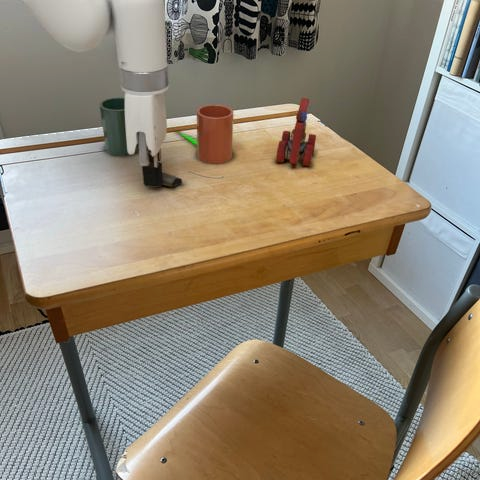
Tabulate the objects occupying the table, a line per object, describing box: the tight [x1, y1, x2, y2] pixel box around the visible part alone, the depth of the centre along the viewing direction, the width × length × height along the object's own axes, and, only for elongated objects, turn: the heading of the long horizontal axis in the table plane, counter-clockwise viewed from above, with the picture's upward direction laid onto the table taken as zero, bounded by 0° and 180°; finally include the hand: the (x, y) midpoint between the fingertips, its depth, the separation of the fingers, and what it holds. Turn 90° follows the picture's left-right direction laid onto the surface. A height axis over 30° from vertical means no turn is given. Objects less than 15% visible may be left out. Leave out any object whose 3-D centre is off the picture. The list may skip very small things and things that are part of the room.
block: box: [162, 171, 183, 188], centre depth 95 cm, size 4×6×2 cm, turn 58°
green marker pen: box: [178, 131, 197, 147], centre depth 108 cm, size 1×14×1 cm, turn 37°
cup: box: [196, 104, 235, 164], centre depth 102 cm, size 7×7×9 cm
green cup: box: [98, 96, 139, 157], centre depth 102 cm, size 7×7×9 cm
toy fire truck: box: [276, 97, 317, 167], centre depth 102 cm, size 7×12×10 cm, turn 168°
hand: (153, 184), depth 93 cm, fingers closed
